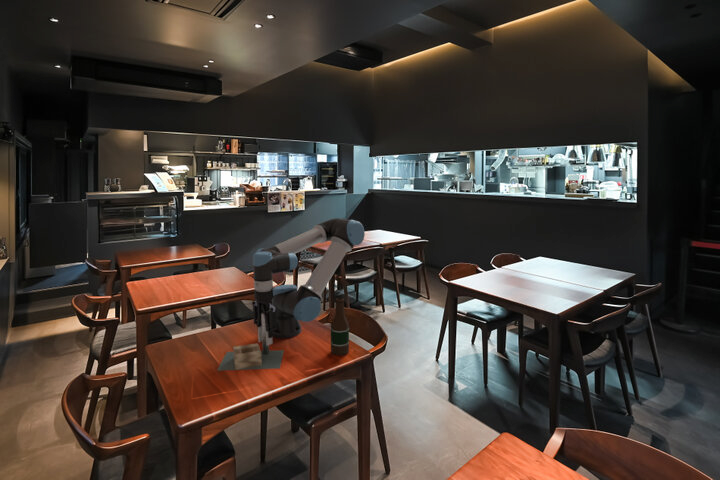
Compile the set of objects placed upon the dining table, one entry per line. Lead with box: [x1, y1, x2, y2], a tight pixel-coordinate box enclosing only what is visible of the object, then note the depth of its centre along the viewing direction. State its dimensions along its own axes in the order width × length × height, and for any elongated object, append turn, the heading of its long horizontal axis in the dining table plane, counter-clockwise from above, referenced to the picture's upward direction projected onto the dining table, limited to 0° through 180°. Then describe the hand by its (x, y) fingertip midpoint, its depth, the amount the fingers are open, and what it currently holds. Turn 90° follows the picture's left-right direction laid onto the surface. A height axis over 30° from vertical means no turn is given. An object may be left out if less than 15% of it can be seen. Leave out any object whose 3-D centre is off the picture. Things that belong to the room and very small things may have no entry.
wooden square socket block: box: [232, 342, 262, 371], centre depth 159 cm, size 10×10×5 cm
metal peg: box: [261, 312, 270, 355], centre depth 165 cm, size 3×3×18 cm
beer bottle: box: [330, 297, 350, 357], centre depth 167 cm, size 8×8×24 cm
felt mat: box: [216, 349, 285, 372], centre depth 161 cm, size 24×16×1 cm, turn 95°
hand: (265, 342), depth 166 cm, fingers open, 4 cm apart
